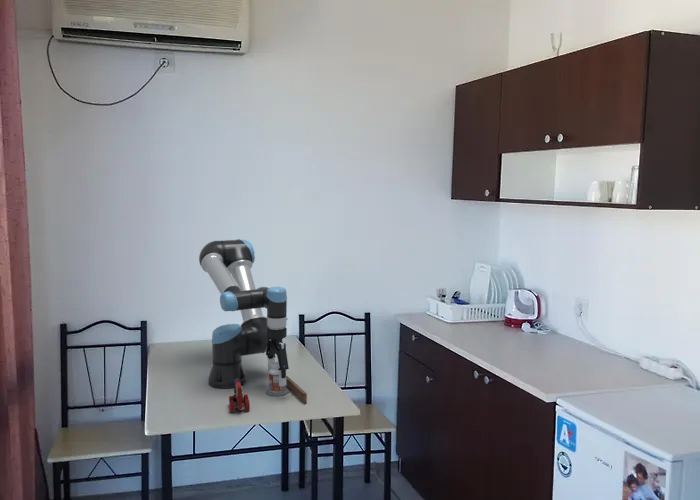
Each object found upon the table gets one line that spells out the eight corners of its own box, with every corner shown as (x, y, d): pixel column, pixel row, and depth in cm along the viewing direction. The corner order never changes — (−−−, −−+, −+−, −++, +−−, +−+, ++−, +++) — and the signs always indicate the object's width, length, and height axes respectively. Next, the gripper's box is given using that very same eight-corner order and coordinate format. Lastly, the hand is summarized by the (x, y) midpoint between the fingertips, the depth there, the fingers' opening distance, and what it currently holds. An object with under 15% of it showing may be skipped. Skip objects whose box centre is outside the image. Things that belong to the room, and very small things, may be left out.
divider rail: (303, 404, 228) (303, 393, 228) (284, 385, 248) (284, 376, 247) (306, 403, 229) (306, 393, 228) (286, 385, 248) (286, 375, 248)
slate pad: (269, 397, 235) (269, 396, 234) (262, 390, 243) (262, 388, 243) (292, 394, 238) (292, 392, 238) (284, 386, 246) (284, 385, 246)
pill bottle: (269, 388, 243) (269, 361, 242) (285, 387, 244) (284, 360, 242) (268, 393, 237) (268, 365, 236) (284, 393, 238) (284, 365, 236)
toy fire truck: (247, 401, 231) (246, 374, 229) (250, 413, 219) (249, 385, 217) (228, 403, 229) (228, 376, 228) (230, 415, 217) (229, 387, 216)
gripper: (297, 334, 228) (297, 389, 231) (275, 318, 250) (275, 369, 253) (278, 336, 225) (278, 391, 227) (258, 320, 247) (258, 371, 250)
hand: (276, 380), depth 240 cm, fingers open, 13 cm apart
